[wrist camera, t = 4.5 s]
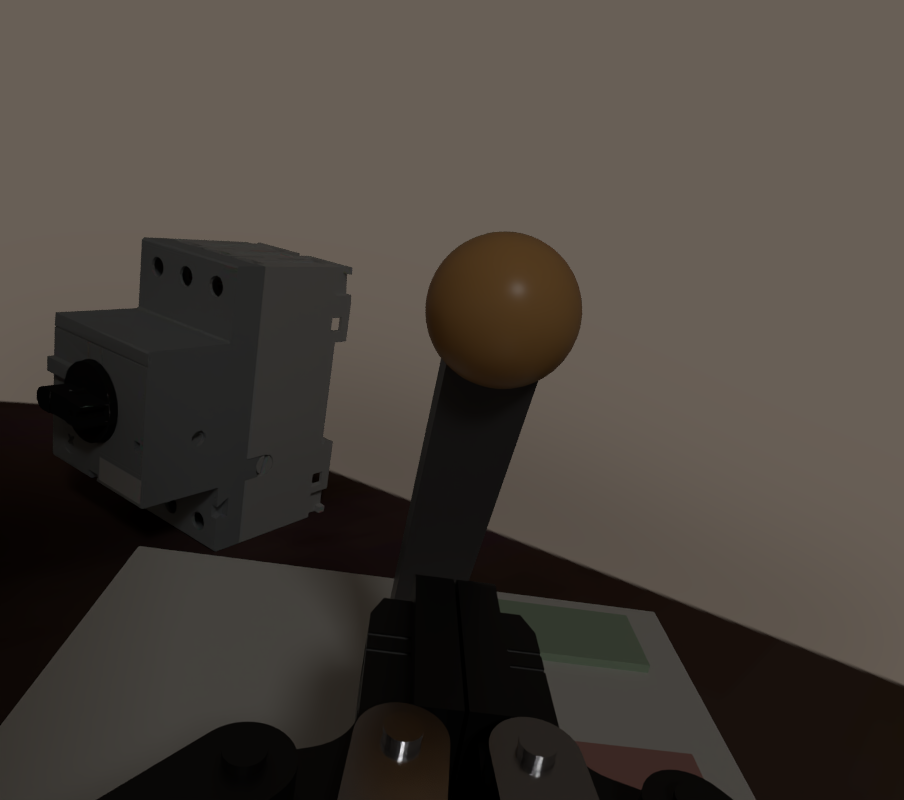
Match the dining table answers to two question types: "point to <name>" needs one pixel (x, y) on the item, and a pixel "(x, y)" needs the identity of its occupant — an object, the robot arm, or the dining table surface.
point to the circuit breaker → (205, 387)
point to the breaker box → (316, 676)
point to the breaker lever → (482, 390)
